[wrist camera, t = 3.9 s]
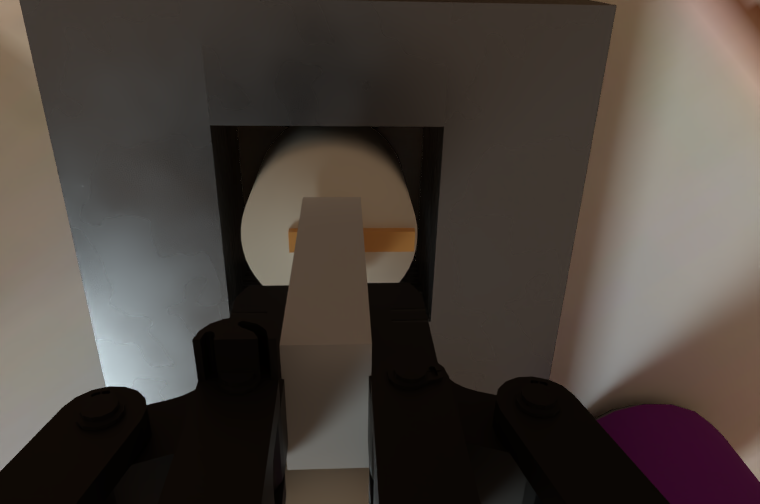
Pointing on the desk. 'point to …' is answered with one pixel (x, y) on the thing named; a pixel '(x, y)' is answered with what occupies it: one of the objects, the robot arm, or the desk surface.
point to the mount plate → (319, 108)
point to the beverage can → (682, 454)
